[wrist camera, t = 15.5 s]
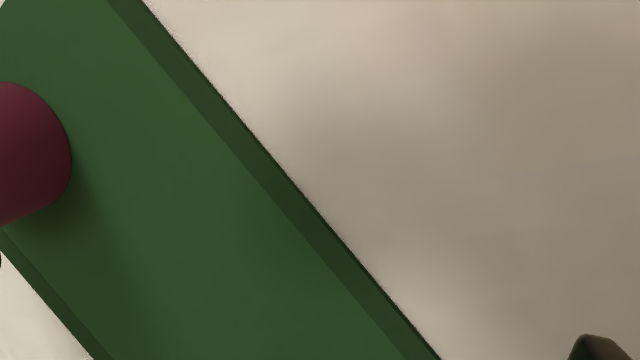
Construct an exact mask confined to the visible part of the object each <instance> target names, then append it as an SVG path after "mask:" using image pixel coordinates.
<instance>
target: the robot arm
mask: <svg viewBox="0 0 640 360" xmlns="http://www.w3.org/2000/svg"><path fill="white" fill-rule="evenodd" d="M0 267H1V254H0ZM567 360H632V359H631V358H630V357H629V356H628V355H627V354H626V353H625V352H624V351H623V350H622V349H621V348H620V347H619V346H618V345H617V344H616V343H615V342H614V341H612V340H611V339H609V338H605V337H600V336H595V335H589V334H583V335H580V336H579V338H578V339H577V340H576V342H575V344H574V346H573V349H572V351H571V353H570V355H569V357H568V359H567Z"/></svg>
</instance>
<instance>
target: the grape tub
mask: <svg viewBox="0 0 640 360" xmlns="http://www.w3.org/2000/svg"><path fill="white" fill-rule="evenodd" d="M70 171H71V153H70V148H69V143H68V140H67V136H66V134H65V131H64V129H63V127H62V125H61V123H60V121H59V119H58V118H57V116H56V115H55V113H54V112H53V110H52V109H51V108H50V107H49V105H48V104H47V103H46V102H45V101H44V100H43V99H42V98H41V97H39V96H38V95H37V94H35V93H34V92H33V91H31V90H29V89H28V88H26V87H23V86H21V85H18V84H15V83H12V82H0V228H1V227H3V226H6V225H8V224H10V223H12V222H14V221H16V220H18V219H21V218H23V217H25V216H27V215H29V214H31V213H33V212H36V211H38V210H40V209H42V208H44V207H46V206H48V205H50V204H52V203H53V202H55V201H56V200H57V199H58V198H59V197H60V196H61V194H62V193H63V191H64V190H65V188H66V186H67V184H68V181H69V177H70Z"/></svg>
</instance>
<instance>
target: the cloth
mask: <svg viewBox="0 0 640 360" xmlns="http://www.w3.org/2000/svg"><path fill="white" fill-rule="evenodd" d="M0 82H12V83H15V84H18V85H21V86H23V87H26V88H28V89H29V90H31V91H33V92H34V93H35V94H37V95H38V96H39V97H41V98H42V99H43V100H44V101H45V102H46V103H47V104H48V105H49V107H50V108H51V109H52V110H53V112H54V113H55V115H56V116H57V118H58V119H59V121H60V123H61V125H62V127H63V129H64V131H65V134H66V136H67V140H68V143H69V148H70V153H71V171H70V177H69V181H68V184H67V186H66V188H65V190H64V191H63V193H62V194H61V196H60V197H59V198H58V199H57V200H56V201H55V202H53V203H52V204H50V205H48V206H46V207H44V208H42V209H40V210H38V211H36V212H33V213H31V214H29V215H27V216H25V217H23V218H21V219H18V220H16V221H14V222H12V223H10V224H8V225H6V226H3V227H1V228H0V250H1V251H2V253H3V254H4V255H5V256H6V257H7V258H8V260H9V261H10V262H11V263H12V264H13V266H14V267H15V268H16V269H17V270H18V271H19V273H20V274H21V275H22V276H23V277H24V278H25V280H26V281H27V282H28V283H29V284H30V285H31V287H32V288H33V289H34V290H35V291H36V292H37V294H38V295H39V296H40V297H41V298H42V299H43V301H44V302H45V303H46V304H47V305H48V306H49V308H50V309H51V310H52V311H53V312H54V314H55V315H56V316H57V317H58V318H59V319H60V321H61V322H62V323H63V324H64V325H65V326H66V328H67V329H68V330H69V331H70V332H71V333H72V335H73V336H74V337H75V338H76V339H77V340H78V342H79V343H80V344H81V345H82V346H83V347H84V349H85V350H86V351H87V352H88V353H89V354H90V356H91V357H92V358H93V359H94V360H441V359H440V358H439V357H438V356H437V354H436V353H435V352H434V351H433V350H432V348H431V347H430V346H429V345H428V344H427V342H426V341H425V340H424V339H423V338H422V336H421V335H420V334H419V333H418V332H417V330H416V329H415V328H414V327H413V326H412V324H411V323H410V322H409V321H408V320H407V318H406V317H405V316H404V315H403V314H402V312H401V311H400V310H399V309H398V308H397V306H396V305H395V304H394V303H393V302H392V300H391V299H390V298H389V297H388V296H387V294H386V293H385V292H384V291H383V290H382V288H381V287H380V286H379V285H378V284H377V282H376V281H375V280H374V279H373V278H372V276H371V275H370V274H369V273H368V272H367V270H366V269H365V268H364V267H363V266H362V264H361V263H360V262H359V261H358V260H357V258H356V257H355V256H354V255H353V254H352V252H351V251H350V250H349V249H348V248H347V246H346V245H345V244H344V243H343V242H342V240H341V239H340V238H339V237H338V236H337V234H336V233H335V232H334V231H333V230H332V228H331V227H330V226H329V225H328V224H327V222H326V221H325V220H324V219H323V218H322V216H321V215H320V214H319V213H318V212H317V210H316V209H315V208H314V207H313V206H312V204H311V203H310V202H309V201H308V200H307V198H306V197H305V196H304V195H303V194H302V192H301V191H300V190H299V189H298V188H297V186H296V185H295V184H294V183H293V182H292V180H291V179H290V178H289V177H288V176H287V174H286V173H285V172H284V171H283V170H282V168H281V167H280V166H279V165H278V164H277V163H276V161H275V160H274V159H273V158H272V157H271V155H270V154H269V153H268V152H267V151H266V149H265V148H264V147H263V146H262V145H261V143H260V142H259V141H258V140H257V139H256V137H255V136H254V135H253V134H252V133H251V131H250V130H249V129H248V128H247V127H246V125H245V124H244V123H243V122H242V121H241V119H240V118H239V117H238V116H237V115H236V113H235V112H234V111H233V110H232V109H231V107H230V106H229V105H228V104H227V103H226V101H225V100H224V99H223V98H222V97H221V95H220V94H219V93H218V92H217V91H216V89H215V88H214V87H213V86H212V85H211V83H210V82H209V81H208V80H207V79H206V77H205V76H204V75H203V74H202V73H201V71H200V70H199V69H198V68H197V67H196V65H195V64H194V63H193V62H192V61H191V59H190V58H189V57H188V56H187V55H186V53H185V52H184V51H183V50H182V49H181V47H180V46H179V45H178V44H177V43H176V41H175V40H174V39H173V38H172V37H171V35H170V34H169V33H168V32H167V31H166V29H165V28H164V27H163V26H162V25H161V23H160V22H159V21H158V20H157V19H156V17H155V16H154V15H153V14H152V13H151V11H150V10H149V9H148V8H147V7H146V5H145V4H144V3H143V2H142V1H141V0H5V2H4V3H3V5H2V6H1V8H0Z"/></svg>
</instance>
